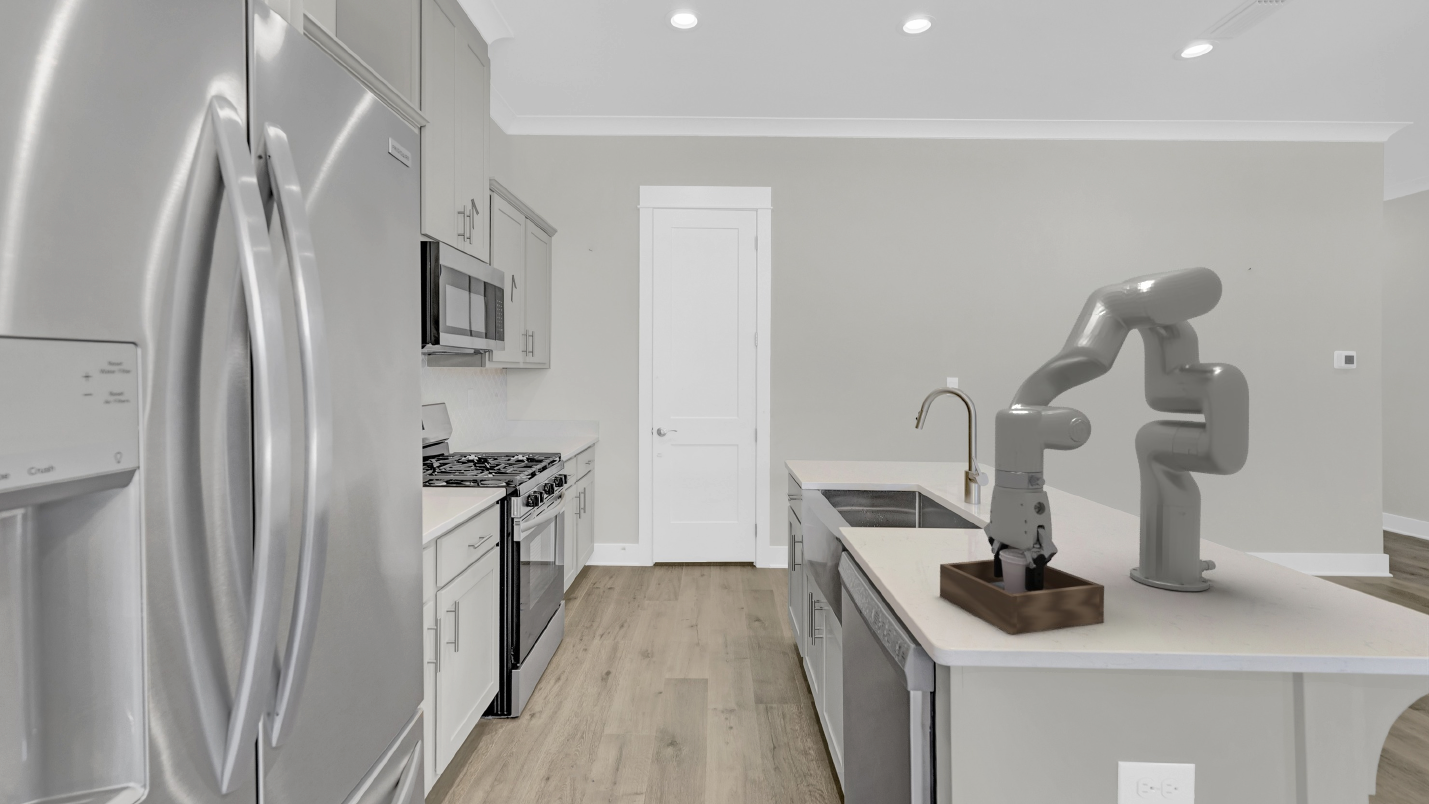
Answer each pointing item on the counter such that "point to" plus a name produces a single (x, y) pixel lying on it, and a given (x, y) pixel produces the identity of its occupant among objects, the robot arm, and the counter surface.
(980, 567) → the wooden box
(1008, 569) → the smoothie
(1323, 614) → the counter surface
